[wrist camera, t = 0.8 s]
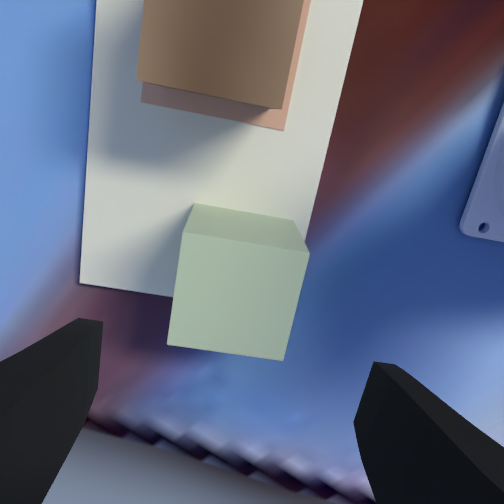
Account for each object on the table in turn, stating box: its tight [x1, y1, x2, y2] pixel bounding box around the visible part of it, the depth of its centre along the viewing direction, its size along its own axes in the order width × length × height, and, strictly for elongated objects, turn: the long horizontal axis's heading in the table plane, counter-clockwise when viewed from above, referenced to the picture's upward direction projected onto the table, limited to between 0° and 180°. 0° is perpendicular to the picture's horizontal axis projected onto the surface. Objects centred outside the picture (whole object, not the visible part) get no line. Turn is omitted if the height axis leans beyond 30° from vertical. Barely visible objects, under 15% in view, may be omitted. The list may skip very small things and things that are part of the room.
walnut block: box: [136, 0, 304, 110], centre depth 14 cm, size 4×4×4 cm
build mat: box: [80, 0, 363, 297], centre depth 17 cm, size 10×17×1 cm, turn 169°
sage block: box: [167, 203, 310, 361], centre depth 17 cm, size 4×4×4 cm
